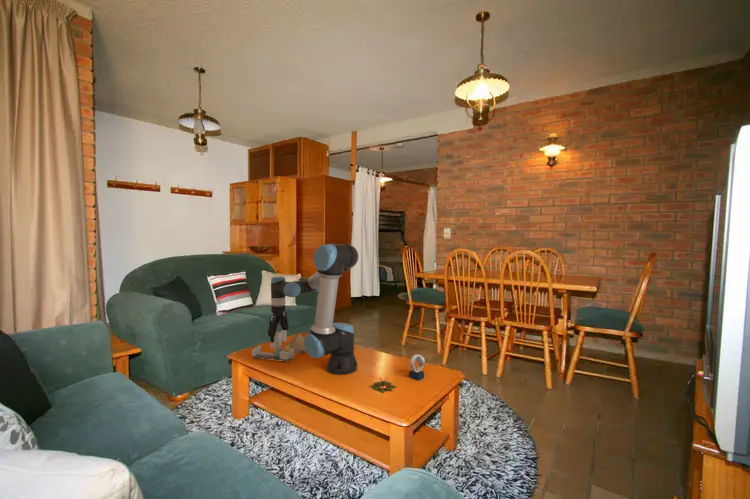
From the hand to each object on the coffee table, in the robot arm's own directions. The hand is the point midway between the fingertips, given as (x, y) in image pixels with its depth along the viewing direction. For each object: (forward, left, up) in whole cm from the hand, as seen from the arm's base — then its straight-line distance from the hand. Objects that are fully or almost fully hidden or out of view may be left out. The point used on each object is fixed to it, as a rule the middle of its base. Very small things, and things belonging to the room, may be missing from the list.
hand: (278, 344), depth 184 cm
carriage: (0, 0, -6) cm, 6 cm away
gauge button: (-4, -4, -4) cm, 6 cm away
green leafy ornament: (-59, -31, -9) cm, 67 cm away
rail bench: (+2, +2, -8) cm, 9 cm away
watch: (-58, -50, -8) cm, 78 cm away
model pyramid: (+10, -15, -9) cm, 20 cm away
